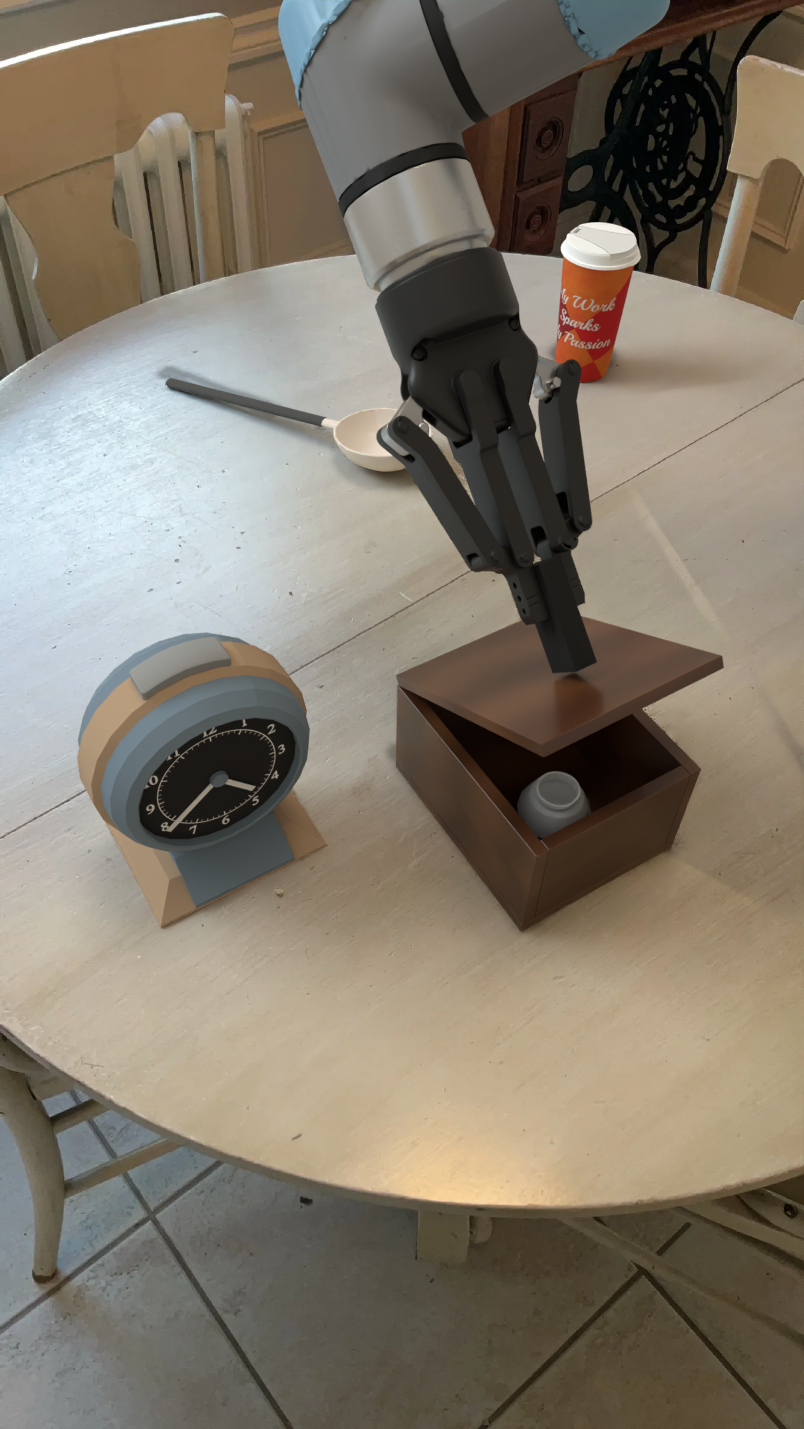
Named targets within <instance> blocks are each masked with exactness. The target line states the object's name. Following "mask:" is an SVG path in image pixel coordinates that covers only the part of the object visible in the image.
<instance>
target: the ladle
mask: <svg viewBox="0 0 804 1429" xmlns="http://www.w3.org/2000/svg"><path fill="white" fill-rule="evenodd" d="M164 385H165V386H166V385H167V386H168V387H167V388H169V387H171V388H170V389H173V388H174V390H178V391H181V392H185V393H189V394H193V395H196V396H199V397H204V398H209V399H212V400H215V401H218V402H219V401H220V402H224V403H227V404H230V405H231V404H232V405H235V406H238V407H239V406H240V407H243V408H247V409H251V410H255V411H259V412H262V413H266V414H269V415H274V416H278V417H282V418H285V419H288V420H294V421H298V422H301V423H305V424H308V425H312V426H316V427H321V428H326V429H331V430H333V435H332V436H333V439H334V441H335V444H336V445H337V447H338V448H339V450H340V451H341V453H342V454H343V455H344V456H345V457H347V458H348V459H349V460H350V461H351V462H353V463H354V464H356V465H357V466H360V467H363V468H366V469H369V470H371V471H377V472H397V471H403V470H404V469H406V468H405V466H404V465H403V464H402V463H401V462H400V461H398V460H397V459H396V458H395V457H393V456H392V455H391V454H390V453H389V452H387V451H386V450H385V449H384V448H383V447H381V446H380V445H379V443H378V442H377V439H376V434H377V432H378V430H379V429H380V428H381V427H383V426H384V425H386V424H387V423H389V422H390V421H391V419H392V418H393V416H394V415H395V413H396V412H397V410H398V409H399V408H391V407H372V408H367V409H363V410H362V409H361V410H357V411H355V412H353V413H350V414H348V415H346V416H344V417H343V418H341V419H340V420H335V419H332V418H328V417H326V416H322V415H318V414H315V413H310V412H307V411H303V410H298V409H295V408H291V407H287V406H283V405H279V404H275V403H271V402H268V401H263V400H260V399H257V398H256V399H255V398H252V397H247V396H243V395H239V394H236V393H233V392H228V391H224V390H220V389H216V388H213V387H208V386H204V385H200V384H197V383H192V382H188V381H185V380H181V379H177V378H173V377H169V378H168V379H166V381H165V383H164ZM423 420H424V419H423ZM424 421H425V420H424ZM425 422H426V421H425ZM426 423H427V424H428V425H429V436H430V437H431V438H432V439H433V435H434V434H433V428H432V427H433V426H431V425H430V424H429V423H428V422H426Z"/></svg>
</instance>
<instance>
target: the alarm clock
mask: <svg viewBox="0 0 804 1429" xmlns="http://www.w3.org/2000/svg"><path fill="white" fill-rule="evenodd" d="M307 713H308V709H307V705H306V703H305V699H304V695H303V692H302V691H301V689H300V688H299V687H298V685H297V684H296V683H295V681H294V680H293V679H292V677H291V675H289V673H288V671H287V670H286V669H285V668H284V666H283V665H282V664H281V663H280V662H279V661H278V659H277V658H276V657H275V656H274V655H273V654H271V653H269V652H267V651H265V650H264V649H262V648H260V647H259V646H257V645H253V644H251V643H249V642H247V641H245V640H243V639H241V638H239V637H235V636H228V635H223V634H219V633H218V634H217V633H213V632H193V633H183V634H179V635H175V636H172V637H169V638H165V639H162V640H158V641H156V642H155V643H153V644H150V645H149V646H147V647H144V648H142V649H141V650H139V651H137V652H135V653H133V654H132V655H131V656H129V657H128V658H126V660H124V661H123V662H122V663H120V664H119V665H117V666H116V667H115V668H113V670H111V672H110V673H109V674H108V675H107V676H106V678H104V680H103V681H102V682H101V683H100V684H99V685H98V686H97V688H96V689H95V691H94V693H93V695H92V697H91V698H90V700H89V702H88V704H87V706H86V708H85V711H84V713H83V715H82V719H81V724H80V729H79V733H78V738H77V742H78V744H77V745H78V752H77V757H76V760H77V766H78V773H79V774H78V775H79V779H80V781H81V783H82V785H83V788H84V789H85V791H86V793H87V795H88V796H89V798H90V800H91V803H92V804H93V806H94V808H95V810H96V811H97V812H98V814H99V815H100V817H101V819H102V820H103V821H104V823H105V824H106V825H107V827H108V829H109V831H110V833H111V835H112V837H113V839H114V840H115V842H116V844H117V847H118V848H119V850H120V852H121V854H122V856H123V858H124V860H125V862H126V863H128V864H127V865H128V867H129V869H130V871H131V873H132V875H133V877H134V878H135V881H136V883H137V884H138V886H139V888H140V891H141V892H142V894H143V896H144V898H145V900H146V902H147V903H148V905H149V907H150V909H151V911H152V914H153V915H154V917H155V919H156V921H157V923H158V925H159V926H160V928H161V929H162V928H164V927H167V926H168V925H170V924H172V923H174V922H176V921H178V920H181V919H182V918H184V917H186V916H188V915H190V914H192V913H194V912H196V911H199V910H200V909H202V908H205V907H207V906H209V905H211V904H212V903H214V902H216V901H218V900H221V899H223V898H224V897H227V896H229V895H230V894H232V893H235V892H237V891H239V890H241V889H243V888H245V887H247V886H249V885H251V884H253V883H254V882H257V881H259V880H261V879H263V878H265V877H267V876H269V875H271V874H273V873H275V872H277V871H279V870H281V869H283V868H285V867H288V866H289V865H292V864H294V863H295V862H297V861H300V860H301V859H303V858H305V857H307V856H310V855H311V854H313V853H316V852H317V851H320V850H321V849H323V848H326V847H328V842H327V840H325V838H324V837H323V836H322V833H321V832H320V831H319V830H318V828H317V826H316V825H315V823H314V822H313V821H312V819H311V817H310V816H309V815H308V813H307V812H306V810H305V809H304V807H303V805H302V804H301V802H300V801H299V800H298V798H297V797H296V795H295V794H294V792H293V791H292V789H293V788H294V786H295V785H296V784H297V782H298V781H299V779H300V778H301V775H302V773H303V770H304V768H305V767H306V766H305V765H306V763H307V760H308V755H309V746H310V745H309V744H310V734H311V732H310V731H311V728H310V724H309V721H308V718H307V717H308V716H307Z"/></svg>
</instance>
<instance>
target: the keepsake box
mask: <svg viewBox="0 0 804 1429" xmlns="http://www.w3.org/2000/svg"><path fill="white" fill-rule="evenodd" d="M396 689H397V690H396V723H395V724H396V728H395V731H396V732H395V733H396V735H395V736H396V737H395V767H396V769H397V770H398V771H399V774H401V775H402V777H403V778H404V779H405V781H406V782H407V783H408V785H409V786H410V787H411V788H412V790H413V791H414V793H415V794H416V795H417V796H418V798H419V799H420V801H421V802H422V803H423V805H424V806H425V807H426V809H427V810H428V811H429V813H430V814H431V815H432V816H433V818H434V819H435V820H436V822H437V823H438V824H439V825H440V826H441V828H442V830H443V831H444V832H445V833H446V835H447V836H448V837H449V839H450V840H451V842H452V843H453V844H454V845H455V847H456V848H457V850H459V852H460V853H461V854H462V856H463V857H464V858H465V860H466V862H468V863H469V865H470V866H471V868H472V869H473V870H474V872H475V873H476V874H477V876H479V878H480V880H481V881H482V883H483V884H484V885H485V886H486V887H487V889H488V890H489V891H490V893H491V895H493V897H494V898H495V899H496V901H497V902H498V903H499V904H500V906H501V907H502V908H503V910H504V911H505V913H506V914H507V915H508V916H509V918H510V919H511V920H512V922H513V923H514V924H515V926H516V927H517V928H518V929H519V931H520V932H521V933H522V932H524V931H525V930H527V929H529V928H531V927H532V926H534V925H536V924H538V923H539V922H542V921H543V920H545V919H548V918H549V917H550V916H553V915H554V914H556V913H557V912H559V911H561V910H562V909H565V908H567V907H568V906H570V905H572V904H574V903H575V902H578V901H579V900H580V899H583V898H585V897H586V896H587V895H589V894H591V893H593V892H595V891H596V890H599V889H601V888H602V887H604V886H605V885H607V884H609V883H611V882H612V881H614V880H616V879H618V878H620V877H621V876H624V875H625V874H627V873H629V872H630V871H632V870H634V869H636V868H638V867H639V866H641V865H643V864H645V863H647V862H648V861H650V860H651V859H654V858H655V857H657V856H659V855H660V854H663V853H664V852H666V851H668V850H670V849H672V848H673V845H674V842H675V840H676V837H677V836H678V835H677V834H678V832H679V829H680V827H681V824H682V821H683V819H684V817H685V813H686V811H687V809H688V806H689V803H690V801H691V798H692V795H693V793H694V790H695V787H696V784H697V783H698V780H699V778H700V774H701V771H702V768H701V767H700V766H699V764H698V763H697V762H695V761H694V760H693V759H692V758H691V756H689V754H687V752H686V751H685V750H684V749H683V748H682V747H681V746H679V744H678V743H677V742H676V741H674V739H673V738H672V737H671V736H670V735H669V734H668V733H667V732H666V731H665V730H664V729H663V728H661V726H660V725H659V724H658V723H657V722H655V720H654V719H653V718H652V717H651V716H650V715H649V714H648V713H647V712H646V711H645V710H644V708H642V709H640V710H638V711H636V712H634V713H632V714H630V715H628V716H626V717H624V718H622V719H620V720H618V721H616V722H614V723H612V724H610V725H608V726H606V727H604V728H602V729H600V730H598V731H596V732H594V733H592V734H590V735H588V736H586V737H584V738H582V739H580V740H578V741H576V742H574V743H572V744H570V745H568V746H566V747H564V748H562V749H560V750H558V751H556V752H554V753H552V754H550V755H548V756H546V757H542V756H540V755H538V754H536V753H534V752H532V751H530V750H528V749H526V748H524V747H522V746H520V745H518V744H516V743H514V742H512V741H510V740H508V739H506V738H504V737H502V736H500V735H498V734H496V733H494V732H492V731H490V730H488V729H486V728H484V727H482V726H479V725H477V724H475V723H473V722H471V721H469V720H467V719H465V718H463V717H461V716H459V715H457V714H455V713H453V712H451V711H449V710H447V709H445V708H443V707H441V706H439V705H437V704H435V703H433V702H431V701H429V700H427V699H425V698H423V697H421V696H419V695H417V694H415V693H413V692H411V691H409V690H407V689H405V688H403V687H401V686H399V685H398V684H397V685H396ZM553 771H559V772H564V773H567V774H569V775H571V776H572V777H574V778H575V779H576V780H577V782H578V783H579V785H580V787H581V789H582V790H583V792H584V793H585V795H586V797H587V798H588V800H589V802H590V808H591V814H589V815H587V816H585V817H583V818H581V819H579V820H577V821H576V822H574V823H572V824H570V825H568V826H566V827H564V828H562V829H560V830H559V831H557V832H555V833H553V834H551V835H549V836H547V837H545V838H540V837H537V836H536V835H535V834H534V833H533V831H532V830H531V829H530V828H529V826H528V825H527V824H526V823H525V822H524V820H523V819H522V818H521V817H520V816H519V814H518V809H517V803H518V800H519V797H520V795H521V792H522V791H523V790H524V789H525V788H526V787H527V786H528V785H529V784H531V783H532V782H533V781H535V780H536V779H538V778H539V777H541V776H542V775H544V774H546V773H548V772H553Z"/></svg>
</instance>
